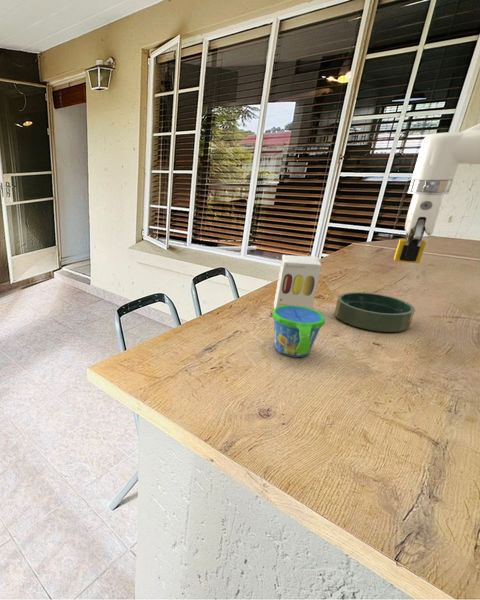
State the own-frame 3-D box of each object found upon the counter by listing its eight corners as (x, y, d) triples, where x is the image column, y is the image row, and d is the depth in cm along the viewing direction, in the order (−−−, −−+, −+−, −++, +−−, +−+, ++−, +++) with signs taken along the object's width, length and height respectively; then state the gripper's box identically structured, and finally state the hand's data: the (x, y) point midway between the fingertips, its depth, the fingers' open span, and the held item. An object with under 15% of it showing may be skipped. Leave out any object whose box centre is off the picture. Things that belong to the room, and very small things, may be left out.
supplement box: (274, 315, 106) (282, 261, 100) (272, 304, 113) (280, 254, 107) (311, 319, 102) (322, 264, 96) (307, 307, 109) (317, 255, 103)
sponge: (418, 260, 93) (424, 240, 91) (419, 263, 91) (426, 242, 89) (393, 258, 96) (399, 238, 94) (394, 261, 94) (400, 240, 92)
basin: (406, 316, 100) (412, 298, 98) (410, 339, 88) (417, 319, 86) (336, 305, 110) (340, 288, 108) (331, 324, 98) (335, 306, 96)
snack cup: (322, 371, 78) (332, 330, 74) (269, 363, 82) (276, 324, 78) (310, 339, 91) (318, 303, 87) (265, 334, 95) (270, 299, 91)
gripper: (456, 190, 78) (429, 268, 85) (445, 184, 90) (422, 253, 97) (411, 190, 83) (389, 264, 89) (407, 184, 95) (387, 250, 101)
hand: (407, 258), depth 93 cm, fingers closed on sponge, 3 cm apart
